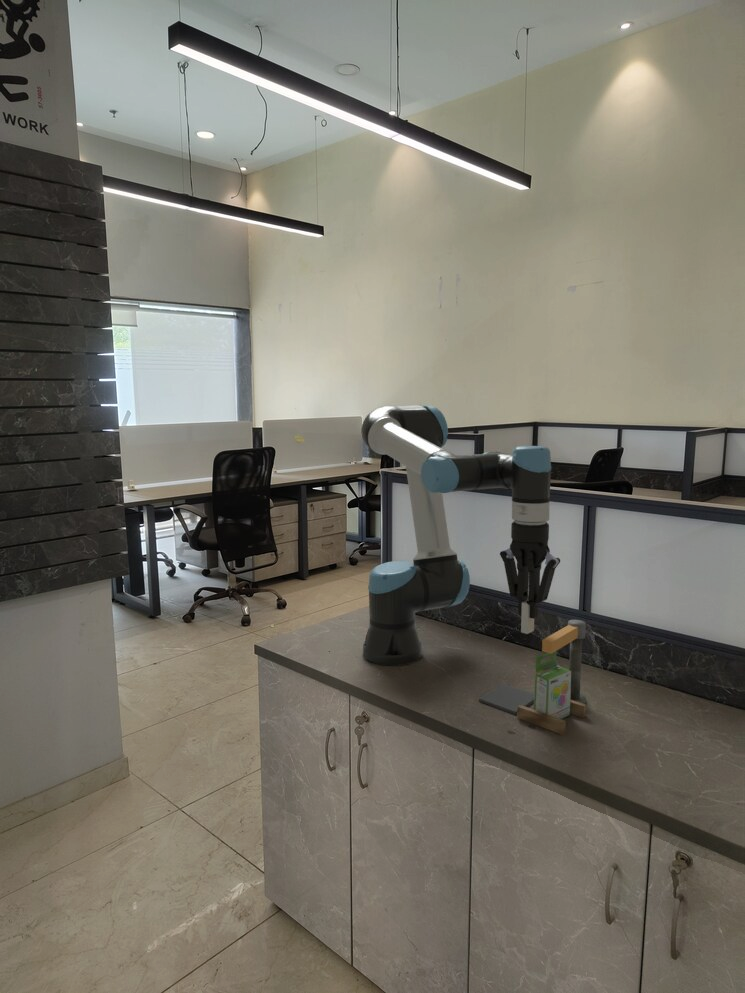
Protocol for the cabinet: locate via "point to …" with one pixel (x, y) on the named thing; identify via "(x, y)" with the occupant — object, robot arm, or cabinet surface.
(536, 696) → the ink box
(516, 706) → the pad
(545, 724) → the dock
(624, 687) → the cabinet surface
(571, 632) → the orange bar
